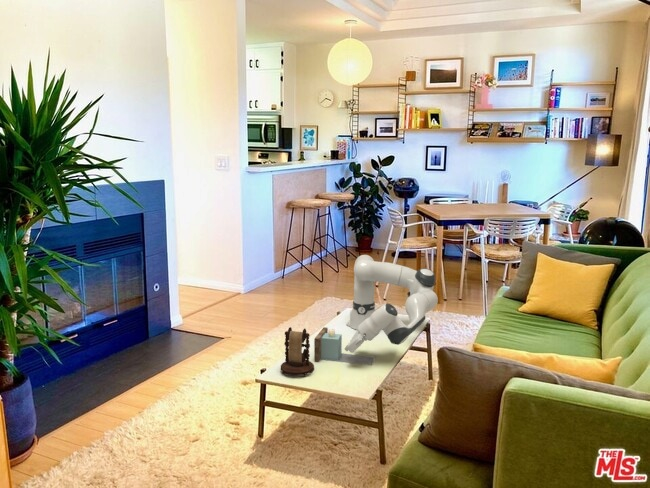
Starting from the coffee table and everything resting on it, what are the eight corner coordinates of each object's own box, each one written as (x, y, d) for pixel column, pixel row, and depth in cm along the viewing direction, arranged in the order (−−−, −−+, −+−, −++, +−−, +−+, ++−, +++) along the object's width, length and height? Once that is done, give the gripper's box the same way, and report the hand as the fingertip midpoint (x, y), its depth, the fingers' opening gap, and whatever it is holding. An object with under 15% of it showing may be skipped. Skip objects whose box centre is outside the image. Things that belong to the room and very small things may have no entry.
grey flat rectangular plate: (325, 353, 258) (325, 351, 258) (375, 358, 252) (375, 356, 252) (320, 361, 249) (320, 359, 249) (371, 367, 243) (371, 365, 242)
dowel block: (325, 352, 257) (325, 326, 254) (341, 354, 255) (341, 328, 252) (321, 358, 250) (321, 331, 248) (338, 360, 248) (338, 333, 246)
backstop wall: (323, 350, 262) (323, 327, 259) (327, 351, 261) (327, 327, 259) (314, 363, 246) (314, 338, 244) (318, 364, 246) (318, 339, 244)
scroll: (275, 376, 233) (275, 332, 229) (287, 363, 247) (286, 321, 243) (308, 380, 229) (308, 335, 226) (318, 366, 243) (317, 324, 240)
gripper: (367, 344, 235) (345, 362, 239) (375, 328, 254) (355, 346, 259) (357, 333, 235) (336, 352, 240) (366, 318, 255) (346, 336, 259)
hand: (346, 349), depth 249 cm, fingers closed
